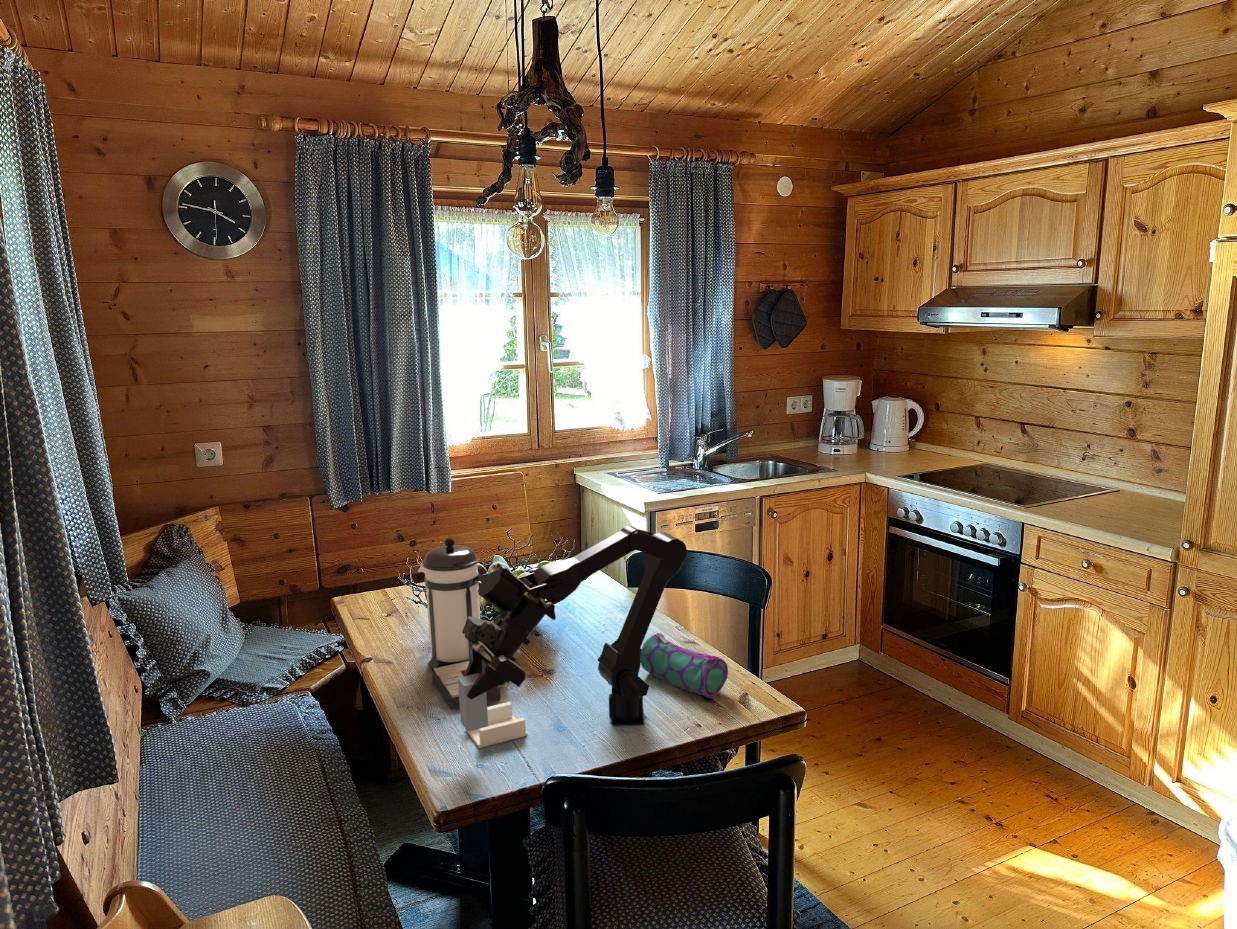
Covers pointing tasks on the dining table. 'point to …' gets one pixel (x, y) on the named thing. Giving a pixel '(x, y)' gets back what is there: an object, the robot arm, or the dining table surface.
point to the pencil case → (683, 666)
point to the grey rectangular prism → (472, 705)
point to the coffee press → (451, 599)
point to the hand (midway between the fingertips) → (465, 693)
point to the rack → (499, 726)
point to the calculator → (455, 684)
